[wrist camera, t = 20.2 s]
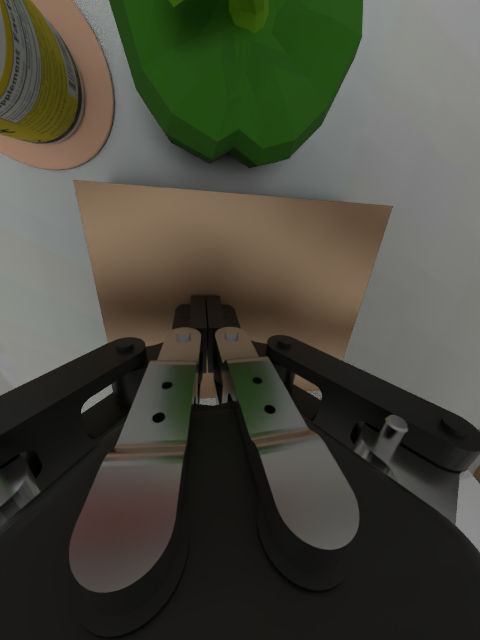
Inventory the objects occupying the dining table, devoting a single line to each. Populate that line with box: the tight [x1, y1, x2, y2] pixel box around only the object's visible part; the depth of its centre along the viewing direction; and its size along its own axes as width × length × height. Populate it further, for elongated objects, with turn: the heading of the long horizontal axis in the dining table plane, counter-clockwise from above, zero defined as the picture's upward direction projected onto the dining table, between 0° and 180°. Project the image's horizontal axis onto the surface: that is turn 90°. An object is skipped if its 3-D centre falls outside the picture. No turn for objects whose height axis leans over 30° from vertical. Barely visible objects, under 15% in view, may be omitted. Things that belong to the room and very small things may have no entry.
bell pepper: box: [109, 0, 363, 168], centre depth 9 cm, size 8×8×10 cm
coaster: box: [0, 0, 114, 170], centre depth 12 cm, size 8×8×1 cm
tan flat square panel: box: [73, 180, 393, 399], centre depth 14 cm, size 12×14×1 cm
